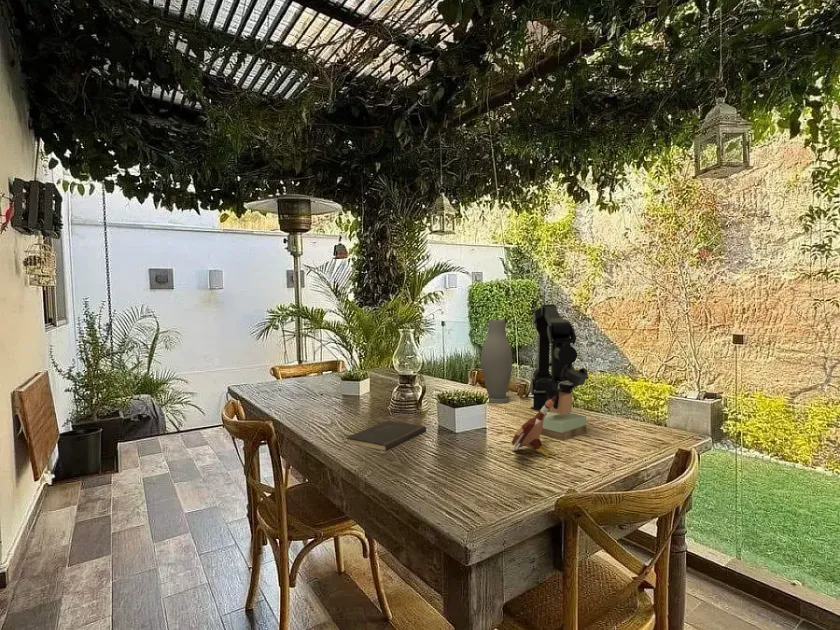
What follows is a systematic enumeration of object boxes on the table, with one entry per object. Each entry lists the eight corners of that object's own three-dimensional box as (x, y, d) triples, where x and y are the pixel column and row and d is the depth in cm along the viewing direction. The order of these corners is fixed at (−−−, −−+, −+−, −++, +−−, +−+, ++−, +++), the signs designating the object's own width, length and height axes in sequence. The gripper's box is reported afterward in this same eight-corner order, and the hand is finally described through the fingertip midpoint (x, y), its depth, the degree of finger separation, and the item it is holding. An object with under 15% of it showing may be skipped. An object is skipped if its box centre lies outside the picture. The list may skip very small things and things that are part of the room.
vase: (481, 404, 196) (479, 321, 195) (482, 397, 209) (480, 319, 208) (513, 404, 194) (511, 320, 193) (512, 397, 207) (511, 319, 206)
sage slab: (560, 419, 161) (560, 410, 161) (585, 425, 153) (585, 416, 153) (536, 426, 153) (535, 417, 153) (562, 432, 145) (561, 423, 145)
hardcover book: (345, 444, 147) (345, 437, 147) (388, 426, 167) (388, 420, 167) (386, 452, 139) (386, 445, 139) (426, 432, 158) (426, 426, 158)
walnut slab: (560, 428, 161) (560, 419, 161) (586, 434, 153) (586, 425, 153) (536, 435, 153) (536, 426, 153) (562, 442, 145) (562, 433, 145)
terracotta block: (558, 409, 156) (558, 391, 156) (571, 411, 153) (571, 393, 152) (549, 411, 153) (549, 393, 153) (562, 414, 149) (562, 395, 149)
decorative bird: (566, 464, 115) (542, 406, 117) (501, 480, 124) (480, 426, 126) (586, 433, 140) (566, 386, 142) (531, 449, 148) (513, 404, 151)
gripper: (564, 365, 140) (565, 416, 141) (598, 359, 152) (598, 406, 152) (534, 362, 149) (535, 410, 150) (568, 356, 161) (568, 401, 161)
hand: (560, 407), depth 153 cm, fingers closed on terracotta block, 5 cm apart
